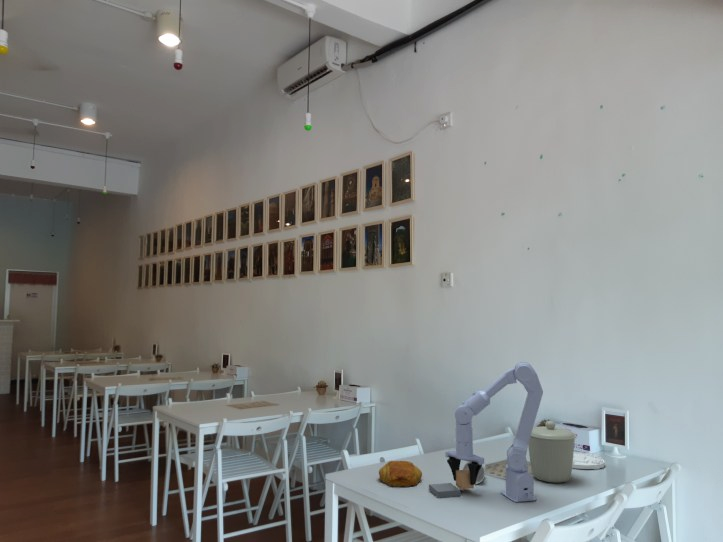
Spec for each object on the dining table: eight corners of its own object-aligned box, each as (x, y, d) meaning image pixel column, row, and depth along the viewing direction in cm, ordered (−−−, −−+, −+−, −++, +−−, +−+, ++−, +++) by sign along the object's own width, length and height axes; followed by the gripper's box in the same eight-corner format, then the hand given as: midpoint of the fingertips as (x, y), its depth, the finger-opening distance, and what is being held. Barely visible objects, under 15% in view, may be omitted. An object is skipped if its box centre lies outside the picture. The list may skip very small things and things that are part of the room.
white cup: (491, 473, 200) (488, 479, 191) (471, 481, 202) (468, 487, 193) (481, 452, 203) (478, 457, 193) (462, 460, 204) (458, 465, 195)
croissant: (381, 481, 202) (378, 459, 203) (423, 477, 201) (420, 454, 202) (378, 492, 188) (375, 468, 189) (422, 488, 187) (419, 464, 188)
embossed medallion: (542, 463, 224) (542, 455, 225) (570, 455, 236) (569, 448, 236) (587, 474, 208) (587, 466, 209) (614, 465, 220) (614, 458, 220)
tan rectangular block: (473, 488, 183) (473, 473, 183) (461, 489, 182) (461, 473, 182) (467, 484, 187) (467, 469, 188) (455, 485, 186) (455, 470, 186)
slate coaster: (460, 496, 179) (460, 490, 179) (437, 498, 177) (438, 491, 177) (450, 488, 187) (450, 482, 187) (428, 490, 185) (428, 484, 185)
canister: (582, 477, 202) (581, 420, 204) (570, 489, 187) (569, 427, 189) (534, 469, 212) (533, 414, 214) (519, 480, 198) (518, 421, 199)
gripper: (488, 443, 183) (489, 484, 182) (453, 436, 194) (454, 475, 192) (477, 446, 178) (477, 488, 177) (441, 439, 189) (442, 479, 187)
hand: (464, 482), depth 184 cm, fingers closed on tan rectangular block, 6 cm apart
